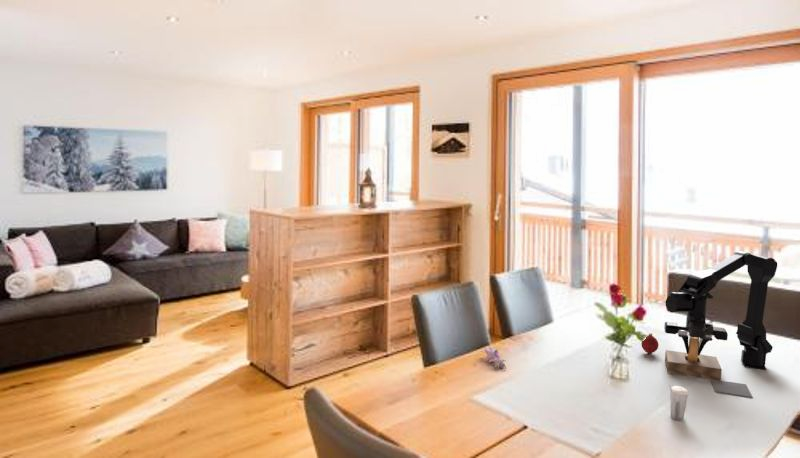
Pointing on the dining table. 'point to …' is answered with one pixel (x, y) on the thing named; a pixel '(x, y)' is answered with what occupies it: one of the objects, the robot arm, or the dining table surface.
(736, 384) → the mat
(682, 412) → the milkshake
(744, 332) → the robot arm
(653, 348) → the onion
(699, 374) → the hole block
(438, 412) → the dining table surface
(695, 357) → the peg
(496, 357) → the rabbit figure
